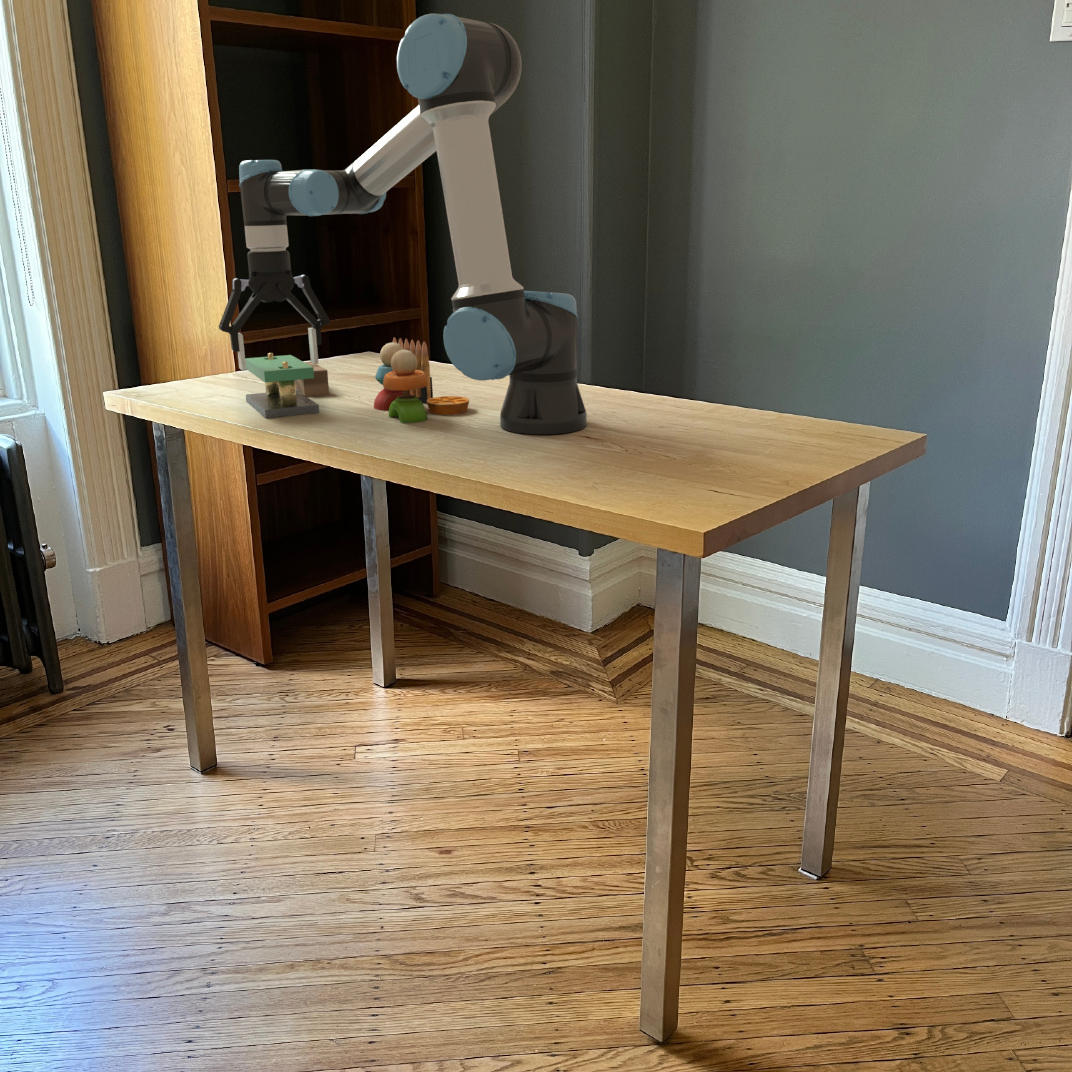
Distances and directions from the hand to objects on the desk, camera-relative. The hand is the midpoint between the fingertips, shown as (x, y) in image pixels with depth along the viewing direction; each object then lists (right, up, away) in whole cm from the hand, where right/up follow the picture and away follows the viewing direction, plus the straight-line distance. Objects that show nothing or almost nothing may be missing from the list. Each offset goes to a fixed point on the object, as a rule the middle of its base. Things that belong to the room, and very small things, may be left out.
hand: (279, 366), depth 197 cm
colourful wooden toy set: (+26, -9, -1) cm, 28 cm away
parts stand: (+2, -2, +18) cm, 19 cm away
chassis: (0, -7, +3) cm, 8 cm away
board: (0, -1, +1) cm, 1 cm away
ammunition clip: (+24, -6, +8) cm, 26 cm away
